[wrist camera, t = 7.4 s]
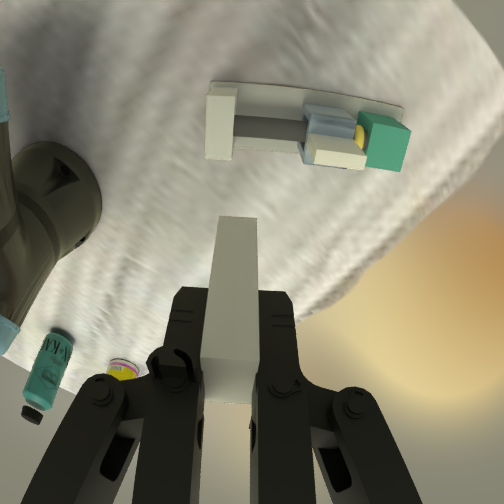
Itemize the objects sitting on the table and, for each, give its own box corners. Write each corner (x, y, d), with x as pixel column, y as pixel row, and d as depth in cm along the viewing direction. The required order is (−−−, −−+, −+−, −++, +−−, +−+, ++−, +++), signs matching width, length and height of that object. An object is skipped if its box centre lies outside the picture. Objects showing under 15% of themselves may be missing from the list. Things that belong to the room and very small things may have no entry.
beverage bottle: (72, 349, 58) (45, 432, 42) (46, 334, 56) (14, 416, 40) (79, 337, 55) (48, 426, 39) (50, 320, 52) (14, 408, 37)
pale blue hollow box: (297, 146, 31) (310, 184, 24) (303, 102, 28) (320, 127, 21) (335, 150, 31) (358, 189, 24) (343, 108, 28) (371, 135, 21)
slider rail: (208, 145, 33) (201, 165, 28) (211, 81, 28) (202, 90, 24) (387, 164, 33) (405, 185, 29) (401, 107, 29) (423, 121, 25)
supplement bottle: (131, 377, 64) (120, 429, 54) (105, 364, 61) (90, 416, 51) (144, 368, 61) (133, 423, 50) (116, 354, 58) (101, 410, 48)
